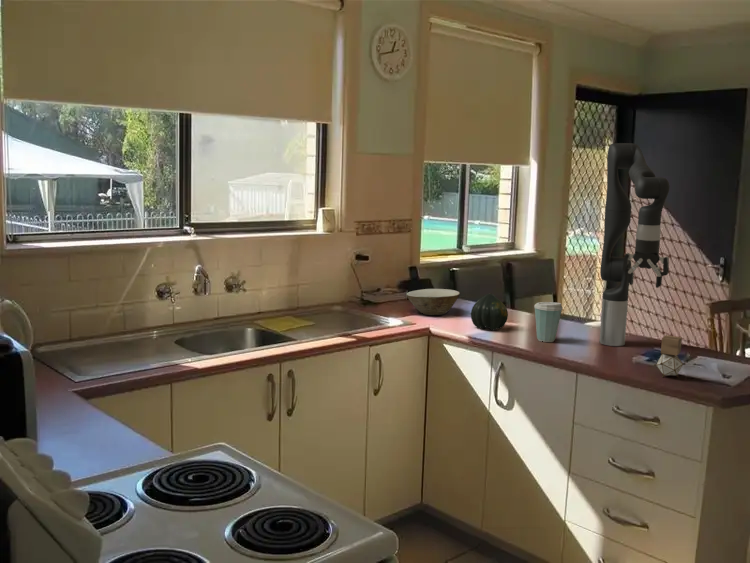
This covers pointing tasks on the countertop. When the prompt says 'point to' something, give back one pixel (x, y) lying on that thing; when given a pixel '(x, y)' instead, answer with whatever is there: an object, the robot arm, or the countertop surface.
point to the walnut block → (671, 345)
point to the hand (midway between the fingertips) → (644, 285)
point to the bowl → (433, 300)
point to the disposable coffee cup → (547, 320)
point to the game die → (669, 365)
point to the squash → (489, 313)
